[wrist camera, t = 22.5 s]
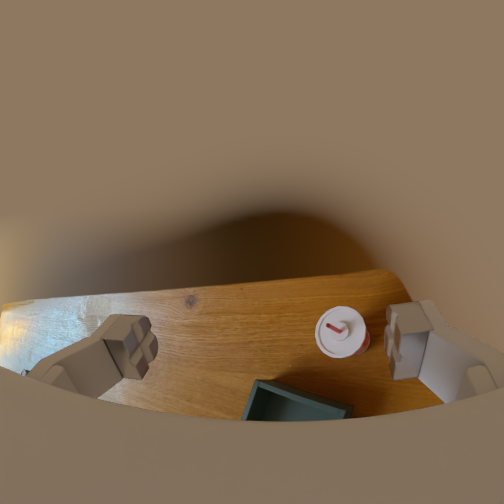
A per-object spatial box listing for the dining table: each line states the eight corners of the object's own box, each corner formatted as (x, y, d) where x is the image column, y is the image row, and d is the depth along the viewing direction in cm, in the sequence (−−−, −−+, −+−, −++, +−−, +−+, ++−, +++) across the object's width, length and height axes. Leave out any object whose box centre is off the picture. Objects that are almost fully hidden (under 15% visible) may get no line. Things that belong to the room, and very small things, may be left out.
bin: (354, 406, 36) (346, 410, 32) (320, 485, 33) (308, 497, 29) (271, 379, 44) (254, 379, 40) (245, 452, 41) (226, 458, 36)
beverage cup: (345, 368, 39) (314, 366, 28) (327, 332, 42) (290, 315, 31) (382, 346, 37) (368, 335, 26) (363, 310, 41) (340, 284, 30)
